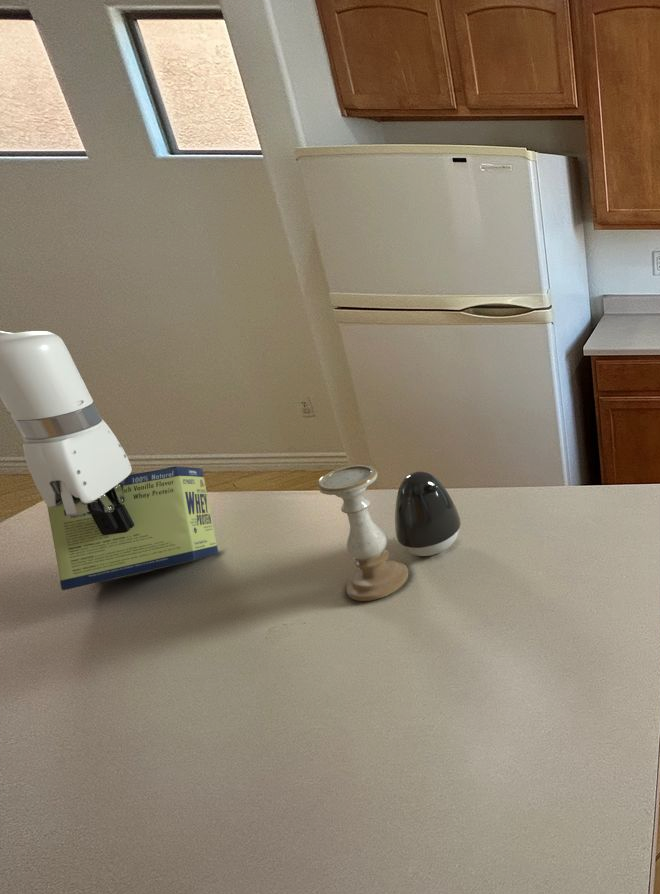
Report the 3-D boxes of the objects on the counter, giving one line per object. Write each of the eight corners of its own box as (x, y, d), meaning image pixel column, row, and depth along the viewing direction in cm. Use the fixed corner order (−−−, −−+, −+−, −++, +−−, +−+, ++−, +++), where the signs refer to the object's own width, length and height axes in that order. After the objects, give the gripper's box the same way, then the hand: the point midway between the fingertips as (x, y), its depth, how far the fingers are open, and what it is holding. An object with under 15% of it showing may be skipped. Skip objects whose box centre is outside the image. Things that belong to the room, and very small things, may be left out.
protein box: (197, 559, 88) (178, 464, 88) (59, 592, 81) (39, 488, 81) (221, 553, 97) (204, 467, 98) (99, 581, 90) (81, 489, 91)
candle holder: (338, 605, 86) (299, 494, 78) (360, 568, 94) (327, 464, 86) (399, 598, 88) (368, 489, 79) (415, 562, 95) (389, 460, 87)
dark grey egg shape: (424, 572, 93) (404, 496, 87) (389, 551, 98) (368, 477, 92) (476, 541, 101) (462, 469, 95) (442, 523, 106) (426, 453, 100)
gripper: (68, 404, 82) (122, 507, 89) (-24, 449, 69) (48, 566, 76) (130, 399, 84) (178, 501, 91) (51, 442, 71) (115, 557, 78)
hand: (119, 530), depth 84 cm, fingers closed
